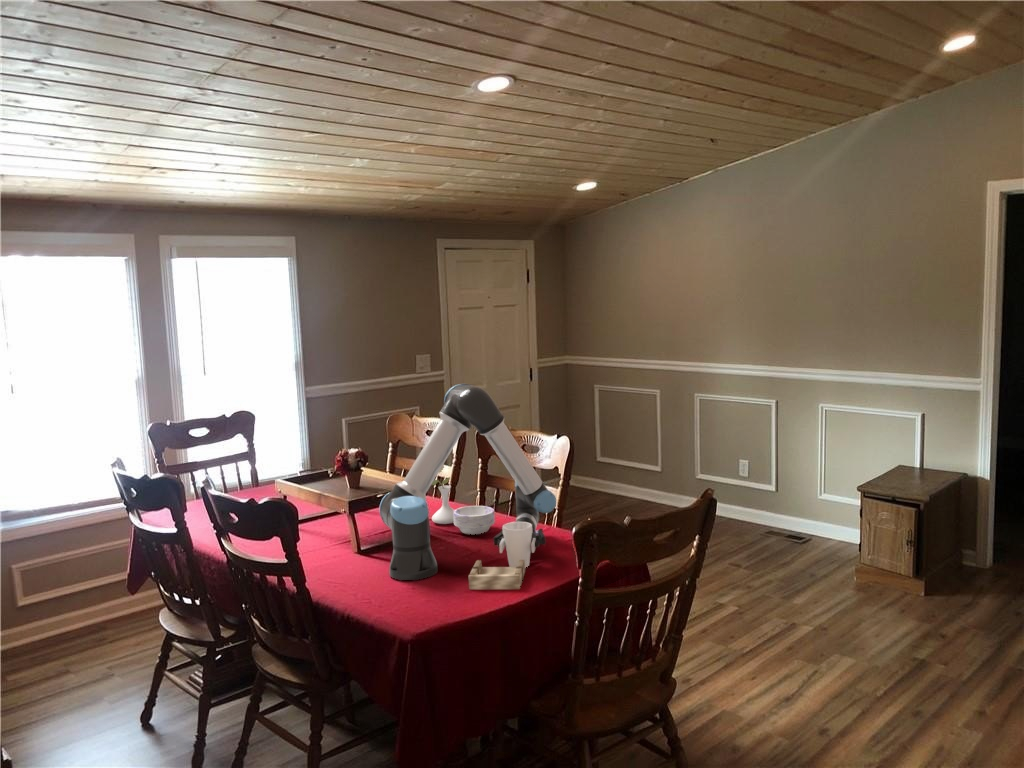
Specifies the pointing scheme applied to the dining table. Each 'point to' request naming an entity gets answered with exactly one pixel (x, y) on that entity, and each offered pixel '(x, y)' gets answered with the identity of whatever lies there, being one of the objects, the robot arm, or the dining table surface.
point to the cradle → (496, 576)
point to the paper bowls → (474, 519)
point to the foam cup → (518, 542)
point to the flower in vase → (445, 511)
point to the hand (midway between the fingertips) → (516, 548)
